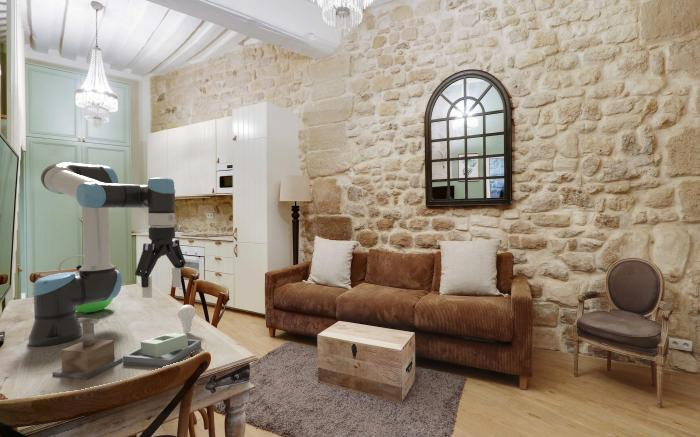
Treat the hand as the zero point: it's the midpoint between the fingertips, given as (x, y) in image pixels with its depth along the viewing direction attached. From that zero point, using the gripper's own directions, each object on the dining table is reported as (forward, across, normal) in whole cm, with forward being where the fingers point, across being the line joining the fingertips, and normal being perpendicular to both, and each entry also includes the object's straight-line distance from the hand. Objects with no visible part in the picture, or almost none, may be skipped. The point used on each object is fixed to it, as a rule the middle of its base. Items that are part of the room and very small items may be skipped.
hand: (162, 292), depth 115 cm
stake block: (+21, -12, +16) cm, 29 cm away
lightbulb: (+21, +19, +4) cm, 29 cm away
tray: (+21, 0, 0) cm, 21 cm away
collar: (+19, 0, -1) cm, 19 cm away
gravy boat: (+22, +36, +66) cm, 78 cm away
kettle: (+22, +58, +93) cm, 112 cm away
